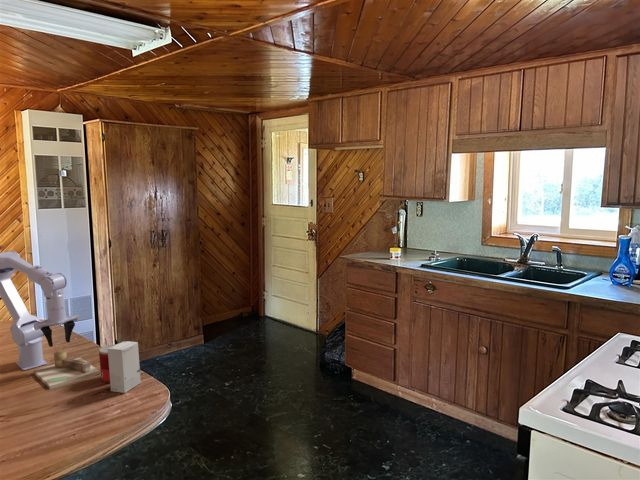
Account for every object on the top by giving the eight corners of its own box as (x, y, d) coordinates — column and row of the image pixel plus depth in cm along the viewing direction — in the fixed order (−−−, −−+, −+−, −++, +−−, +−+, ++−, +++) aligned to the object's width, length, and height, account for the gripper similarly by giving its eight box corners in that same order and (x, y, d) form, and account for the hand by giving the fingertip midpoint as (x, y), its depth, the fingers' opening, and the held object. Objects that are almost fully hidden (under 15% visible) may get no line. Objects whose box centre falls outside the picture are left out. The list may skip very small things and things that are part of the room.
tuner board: (33, 373, 167) (33, 370, 167) (80, 360, 179) (80, 357, 178) (50, 389, 155) (49, 385, 155) (99, 374, 166) (99, 370, 166)
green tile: (49, 382, 157) (49, 382, 157) (50, 378, 160) (50, 378, 160) (66, 379, 159) (66, 379, 159) (67, 376, 162) (67, 375, 162)
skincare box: (124, 394, 151) (121, 350, 149) (109, 391, 153) (106, 348, 151) (141, 382, 159) (139, 341, 157) (127, 380, 161) (124, 339, 159)
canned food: (116, 384, 159) (114, 353, 157) (96, 382, 160) (93, 351, 159) (130, 374, 166) (128, 345, 164) (110, 372, 168) (108, 343, 166)
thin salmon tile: (83, 373, 164) (83, 373, 164) (79, 372, 165) (79, 372, 165) (90, 370, 167) (90, 369, 167) (86, 369, 168) (86, 369, 168)
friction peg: (52, 366, 169) (51, 353, 168) (62, 362, 173) (61, 349, 172) (83, 373, 163) (82, 359, 163) (92, 368, 167) (91, 355, 166)
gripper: (36, 314, 159) (40, 352, 161) (81, 305, 169) (84, 341, 171) (30, 310, 164) (34, 347, 166) (74, 301, 174) (77, 336, 176)
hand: (59, 343), depth 169 cm, fingers open, 5 cm apart
